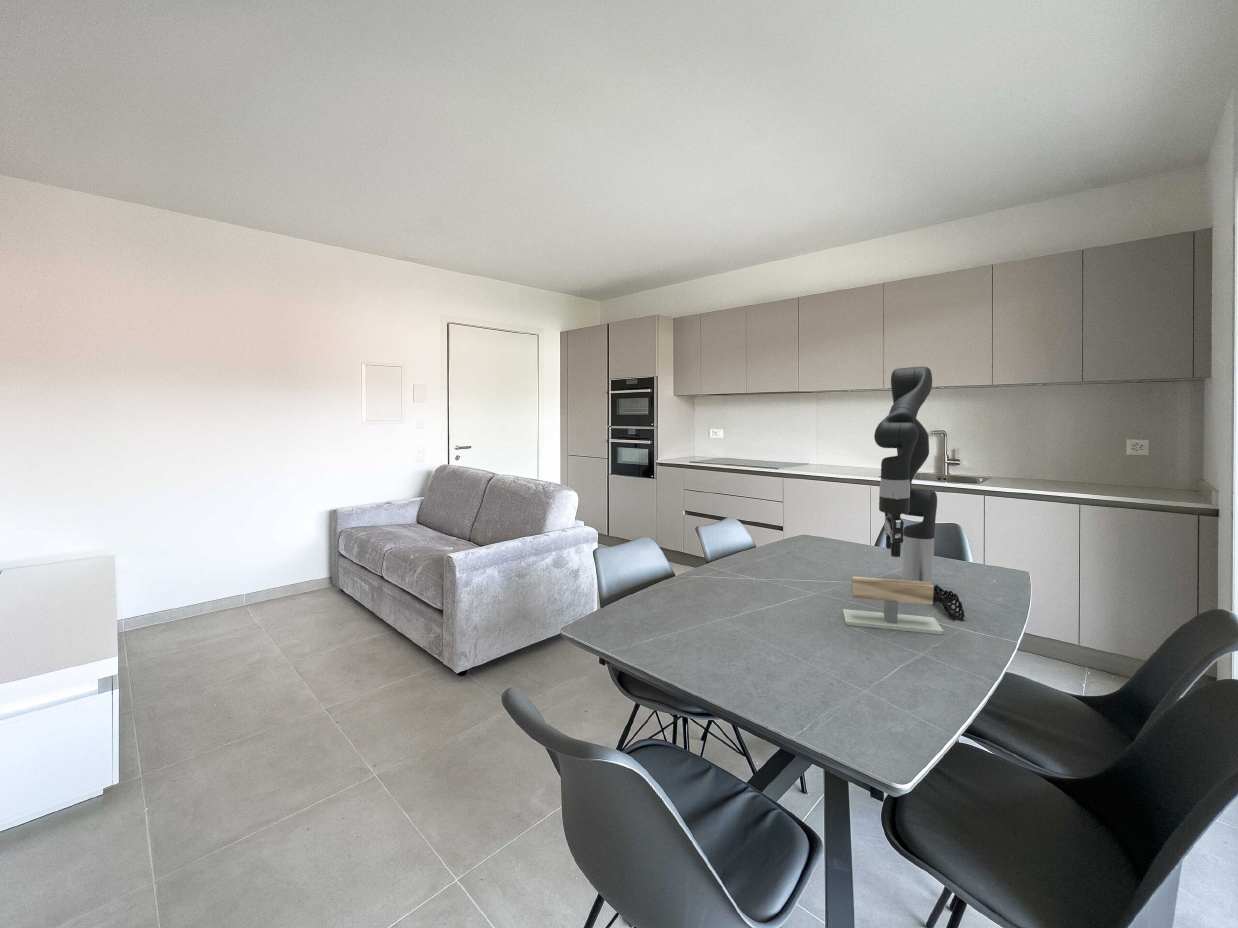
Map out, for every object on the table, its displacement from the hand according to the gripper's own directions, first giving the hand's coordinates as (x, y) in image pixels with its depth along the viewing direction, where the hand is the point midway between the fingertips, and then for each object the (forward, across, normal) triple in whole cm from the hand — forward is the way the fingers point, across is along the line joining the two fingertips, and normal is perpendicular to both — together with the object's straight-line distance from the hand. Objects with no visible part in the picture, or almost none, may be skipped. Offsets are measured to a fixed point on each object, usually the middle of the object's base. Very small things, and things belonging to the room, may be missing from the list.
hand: (892, 552), depth 149 cm
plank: (+13, 0, 0) cm, 13 cm away
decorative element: (+21, -18, +17) cm, 32 cm away
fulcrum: (+20, 0, 0) cm, 20 cm away
